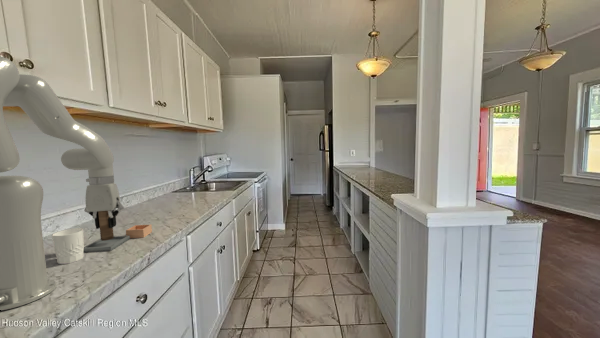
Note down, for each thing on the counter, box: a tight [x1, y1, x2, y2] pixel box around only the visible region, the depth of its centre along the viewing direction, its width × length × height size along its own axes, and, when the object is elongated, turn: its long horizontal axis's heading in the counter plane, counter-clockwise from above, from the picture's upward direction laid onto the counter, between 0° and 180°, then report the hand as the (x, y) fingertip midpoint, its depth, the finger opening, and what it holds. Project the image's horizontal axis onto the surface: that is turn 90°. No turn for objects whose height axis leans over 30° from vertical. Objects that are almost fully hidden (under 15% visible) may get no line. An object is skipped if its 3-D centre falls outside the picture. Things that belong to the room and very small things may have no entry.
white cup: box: [51, 227, 85, 265], centre depth 85 cm, size 8×8×10 cm
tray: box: [84, 235, 131, 253], centre depth 97 cm, size 12×10×2 cm
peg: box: [98, 211, 114, 241], centre depth 97 cm, size 4×4×12 cm
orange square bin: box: [125, 224, 153, 239], centre depth 108 cm, size 7×7×4 cm
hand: (106, 226), depth 97 cm, fingers closed on peg, 4 cm apart
